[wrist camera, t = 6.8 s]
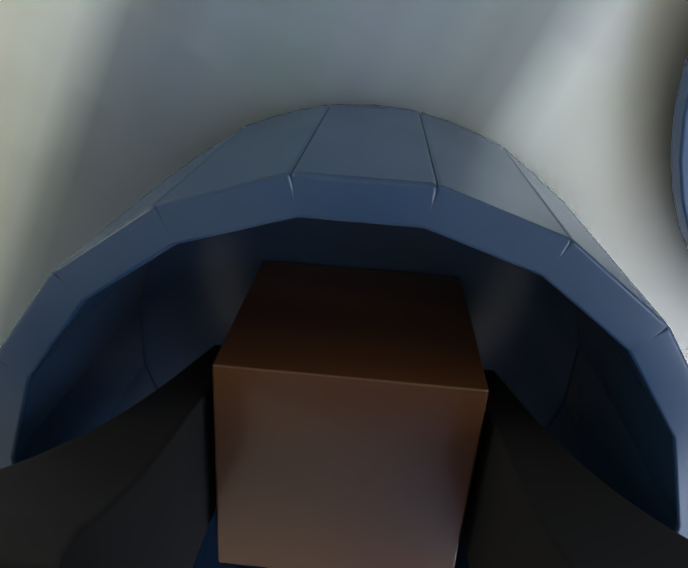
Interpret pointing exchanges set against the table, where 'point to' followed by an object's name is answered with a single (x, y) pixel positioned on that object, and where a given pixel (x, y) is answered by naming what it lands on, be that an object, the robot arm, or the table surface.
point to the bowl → (364, 253)
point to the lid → (681, 154)
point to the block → (346, 419)
